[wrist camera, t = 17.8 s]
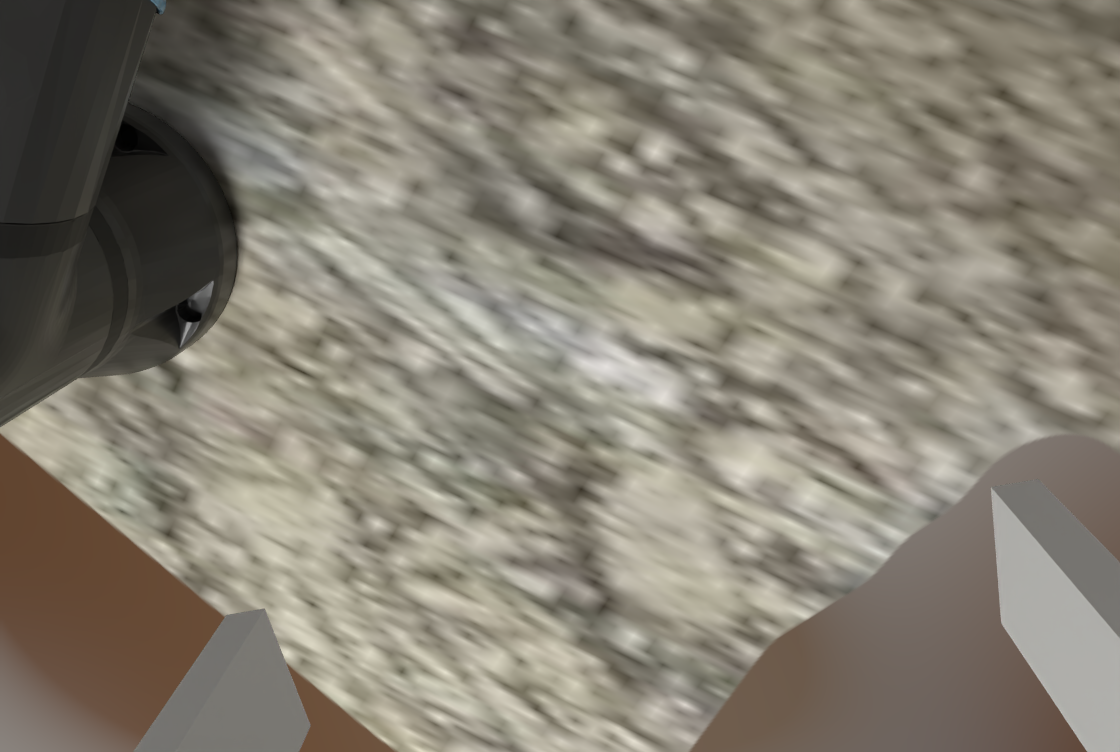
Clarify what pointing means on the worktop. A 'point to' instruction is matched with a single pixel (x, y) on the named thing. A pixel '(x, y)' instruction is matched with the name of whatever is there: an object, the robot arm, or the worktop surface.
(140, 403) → the worktop surface
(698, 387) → the worktop surface
